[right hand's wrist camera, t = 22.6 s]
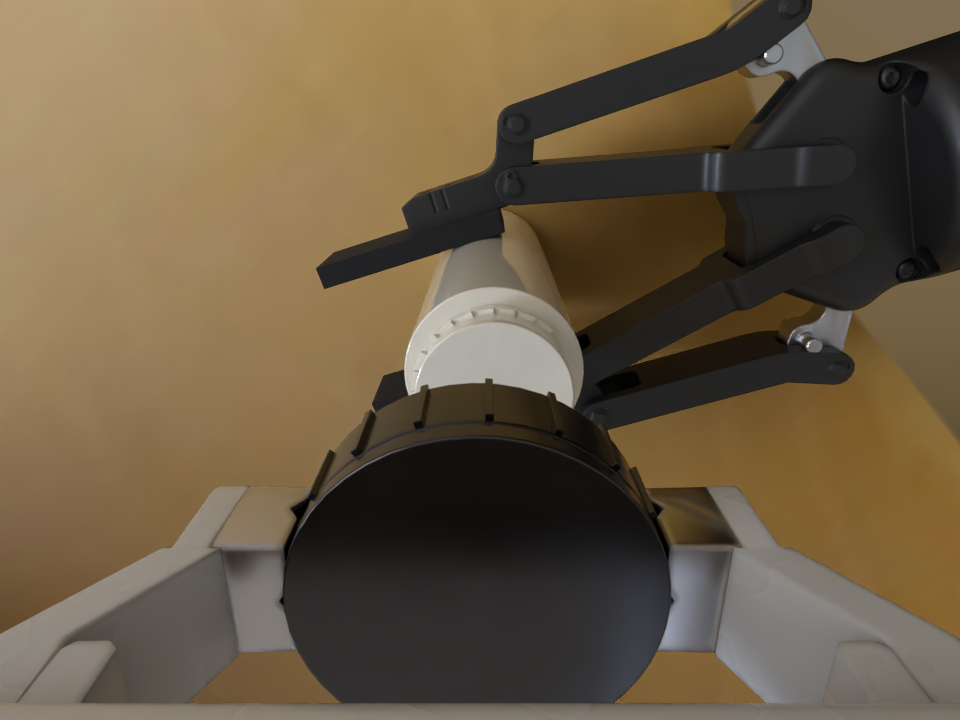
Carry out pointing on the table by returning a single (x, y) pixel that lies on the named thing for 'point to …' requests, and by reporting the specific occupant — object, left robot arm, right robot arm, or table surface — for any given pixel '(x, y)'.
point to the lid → (477, 556)
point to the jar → (496, 320)
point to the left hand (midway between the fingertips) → (357, 335)
